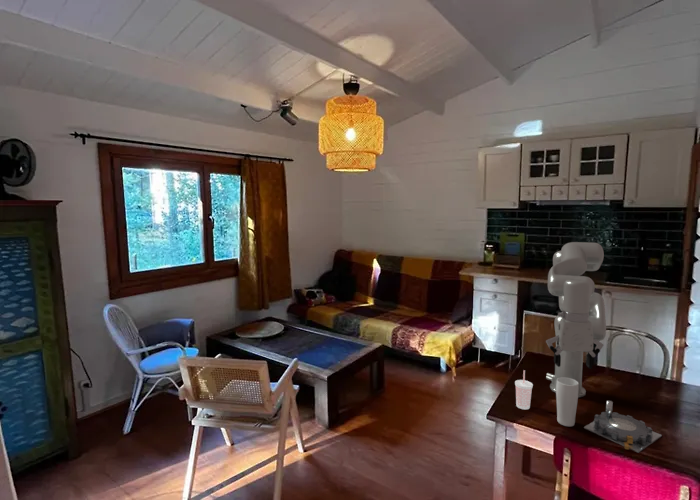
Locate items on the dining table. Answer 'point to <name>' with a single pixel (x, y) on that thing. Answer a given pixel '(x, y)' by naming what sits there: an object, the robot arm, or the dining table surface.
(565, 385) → the drinking glass
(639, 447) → the base plate
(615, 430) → the sprocket
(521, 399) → the beverage cup
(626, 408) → the dining table surface
